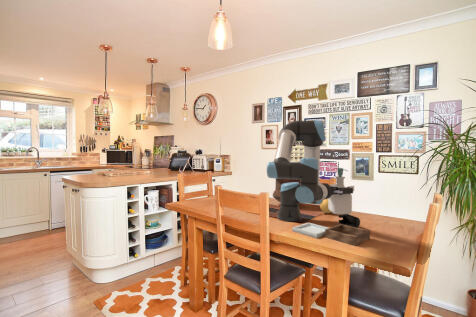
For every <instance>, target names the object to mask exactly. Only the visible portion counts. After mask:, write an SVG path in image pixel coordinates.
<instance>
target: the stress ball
mask: <svg viewBox="0 0 476 317" xmlns="http://www.w3.org/2000/svg"><path fill="white" fill-rule="evenodd" d="M319 209H320V210H321V212H323V213H324V214H326V215H330V214H331V213H332V214H333V212H331V211H330V210H329V209H328V199H325V200H323V201H322V203H321V204H319Z"/></svg>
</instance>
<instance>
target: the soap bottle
mask: <svg viewBox="0 0 476 317" xmlns="http://www.w3.org/2000/svg"><path fill="white" fill-rule="evenodd" d="M336 169H337V176H334V178H335V179H336V183H335V184H336V186H335V187H338V188H344V187H346V186H345V184H344V183H345V181H344V180H345V179H346V177H345V176H343V174H344V167H339V168H338V167H337V168H336ZM345 171H346V172H348V170H347V169H345ZM328 209H329V210H330V211H331V212H332V214H335V215H344V214H349V215H351V213H352V212H353V196H352V193H350V194H343V195H339V193H338V194H334V195H332V196H331V197H330V198H328Z"/></svg>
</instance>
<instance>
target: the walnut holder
mask: <svg viewBox="0 0 476 317" xmlns="http://www.w3.org/2000/svg"><path fill="white" fill-rule="evenodd" d="M324 238H327V239H331V240H333V241H338V242H340V243H344V244H347V245H350V246H354V247H356V246H358V245H360V244H362V243H364V242H366V241H368V240H370V239H371V230H367V229H363V228H360V227H357V228H356V227H351V226H347V225H343V224H340V223H338V224H336V225H333V226H331V227H328V229H325V235H324Z"/></svg>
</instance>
